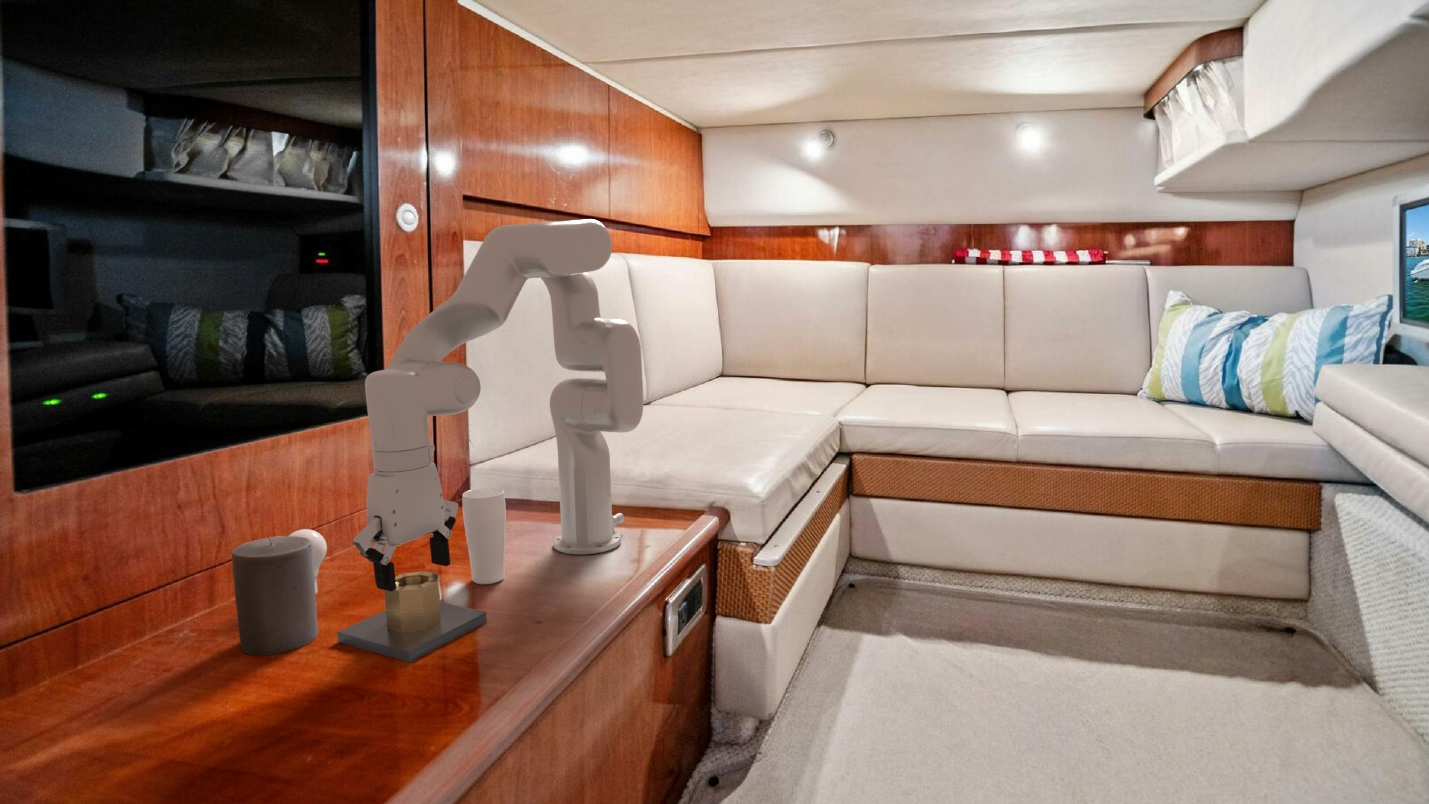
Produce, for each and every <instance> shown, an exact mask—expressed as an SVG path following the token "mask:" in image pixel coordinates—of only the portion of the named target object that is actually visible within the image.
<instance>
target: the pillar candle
mask: <svg viewBox="0 0 1429 804" xmlns="http://www.w3.org/2000/svg"><path fill="white" fill-rule="evenodd" d="M311 543H312V541H311V540H309V539H307V538H305V537H297V536H289V535H283V536H282V535H278V536H272V537H271V536H268V537H265V538H260V539H255V540H252V541H248V542H244V543H241V544H240V545H237V546H236V547H235V548H233V549H232V551H231V561H232V562H231V564H232V574H233V575H232V576H233V584H234V586H233V587H234V596H235V608H236V617H237V618H236V619H237V627H238V636H239V643H240V645H239V649H240V651H241V652H242V653H244V654H247V655H251V656H270V655H277V654H283V653H286V652H291V651H295V650H298V649H300V648H302V647H304V646H306V645H308V644H310V643H311V642H313V641H314V640H315V639H316V638H317V637H318V634H319V631H318V629H319V628H318V627H319V626H318V617H317V615H318V614H317V600H316V594H315V586H314V574H313V562H312V548H311Z"/></svg>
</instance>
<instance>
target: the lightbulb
mask: <svg viewBox="0 0 1429 804" xmlns="http://www.w3.org/2000/svg"><path fill="white" fill-rule="evenodd" d="M288 536H297V537H305V538H307V539H309V540H311V541H312V543H311V548H312V562H313V574H314V586H315V595H316V594H317V593H318V592H319V591H318V581H317V580H318V578H317V577H318V575H319V571H320V570H319V569H320V566H321V564H322V562H323V561H324V559H325V557H326V555H327V549H328V547H327V542H326V539H325V538H324V536H323V535H322V534H320V533H319V532H318V531H316V530H313V529H311V528H309V529H307V528H302V529H298V530H295V531H293V532H292V533H290V534H289V535H288Z"/></svg>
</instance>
